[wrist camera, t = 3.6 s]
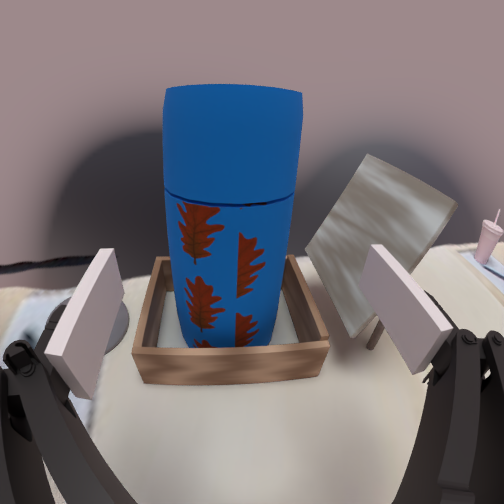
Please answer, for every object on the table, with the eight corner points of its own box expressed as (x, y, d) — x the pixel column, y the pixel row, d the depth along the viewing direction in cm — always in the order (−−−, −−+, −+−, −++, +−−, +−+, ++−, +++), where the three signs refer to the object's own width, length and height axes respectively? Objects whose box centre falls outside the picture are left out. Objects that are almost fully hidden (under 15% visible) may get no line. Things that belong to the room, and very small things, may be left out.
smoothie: (492, 265, 48) (512, 215, 41) (484, 269, 46) (505, 215, 39) (475, 252, 53) (493, 203, 46) (466, 255, 51) (485, 202, 44)
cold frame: (144, 383, 23) (87, 186, 13) (161, 287, 37) (147, 142, 27) (385, 362, 27) (459, 202, 17) (340, 282, 40) (371, 154, 30)
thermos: (215, 288, 37) (218, 91, 25) (287, 317, 33) (320, 98, 21) (162, 336, 29) (134, 91, 16) (243, 381, 25) (266, 83, 12)
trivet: (34, 354, 23) (32, 351, 23) (65, 292, 33) (63, 289, 33) (118, 367, 25) (116, 363, 24) (137, 295, 35) (136, 291, 34)
